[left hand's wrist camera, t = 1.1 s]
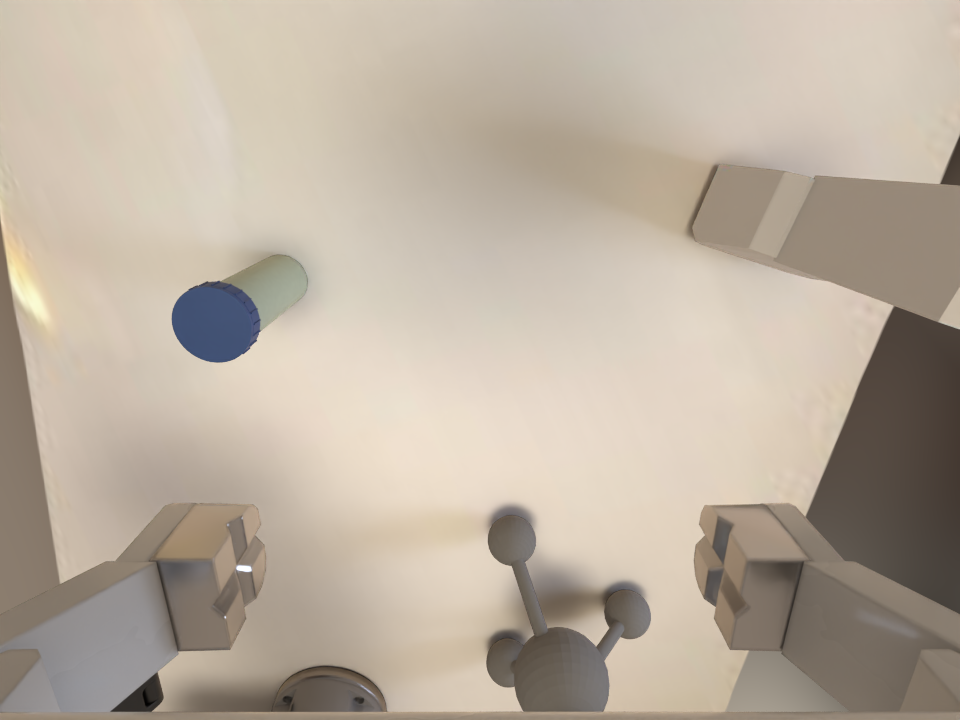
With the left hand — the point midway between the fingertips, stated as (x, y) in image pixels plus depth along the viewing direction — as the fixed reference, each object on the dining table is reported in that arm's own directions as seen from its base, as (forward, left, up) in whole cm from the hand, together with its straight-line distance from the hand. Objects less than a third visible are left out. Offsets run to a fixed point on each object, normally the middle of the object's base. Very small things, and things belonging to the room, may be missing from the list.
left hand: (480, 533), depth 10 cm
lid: (+6, -20, -32) cm, 38 cm away
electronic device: (0, +27, -48) cm, 55 cm away
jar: (+6, -20, -48) cm, 52 cm away
